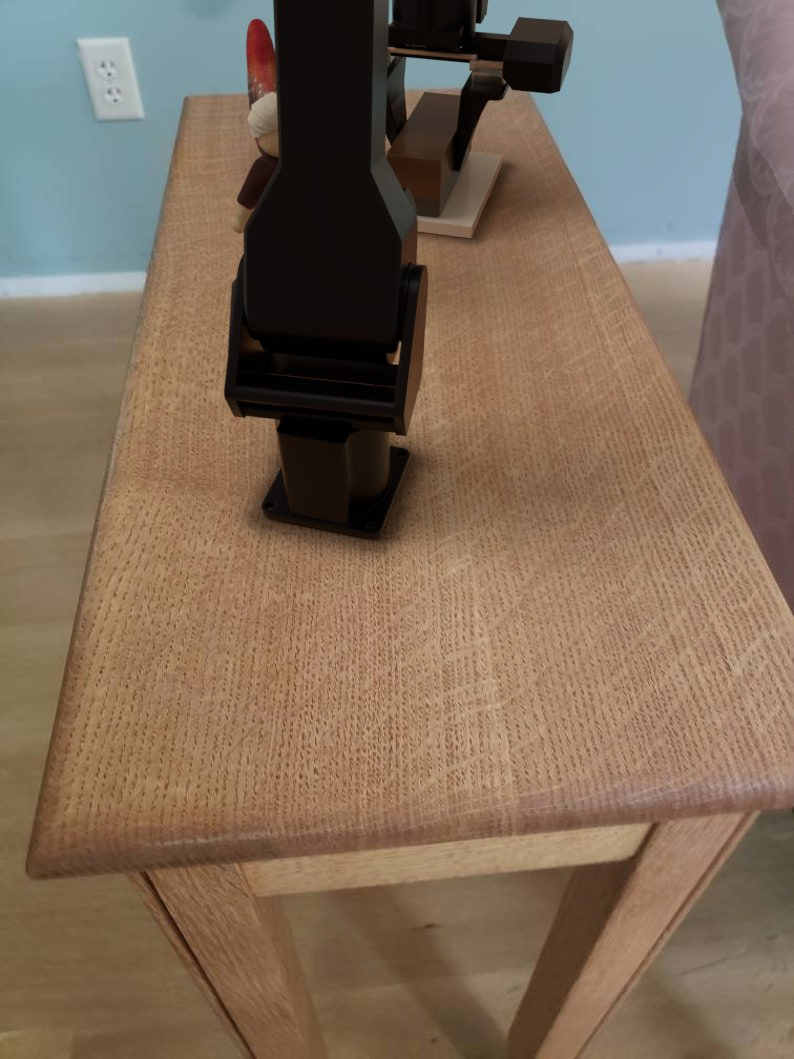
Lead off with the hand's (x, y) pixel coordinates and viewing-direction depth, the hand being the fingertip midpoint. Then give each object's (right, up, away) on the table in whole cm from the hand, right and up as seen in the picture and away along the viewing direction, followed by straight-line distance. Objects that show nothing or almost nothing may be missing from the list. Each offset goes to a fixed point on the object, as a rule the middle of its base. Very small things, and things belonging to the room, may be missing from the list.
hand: (431, 166), depth 66 cm
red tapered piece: (-12, 0, +4) cm, 13 cm away
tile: (0, -1, +2) cm, 2 cm away
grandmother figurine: (-10, -11, -6) cm, 16 cm away
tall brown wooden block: (0, -1, +1) cm, 1 cm away
